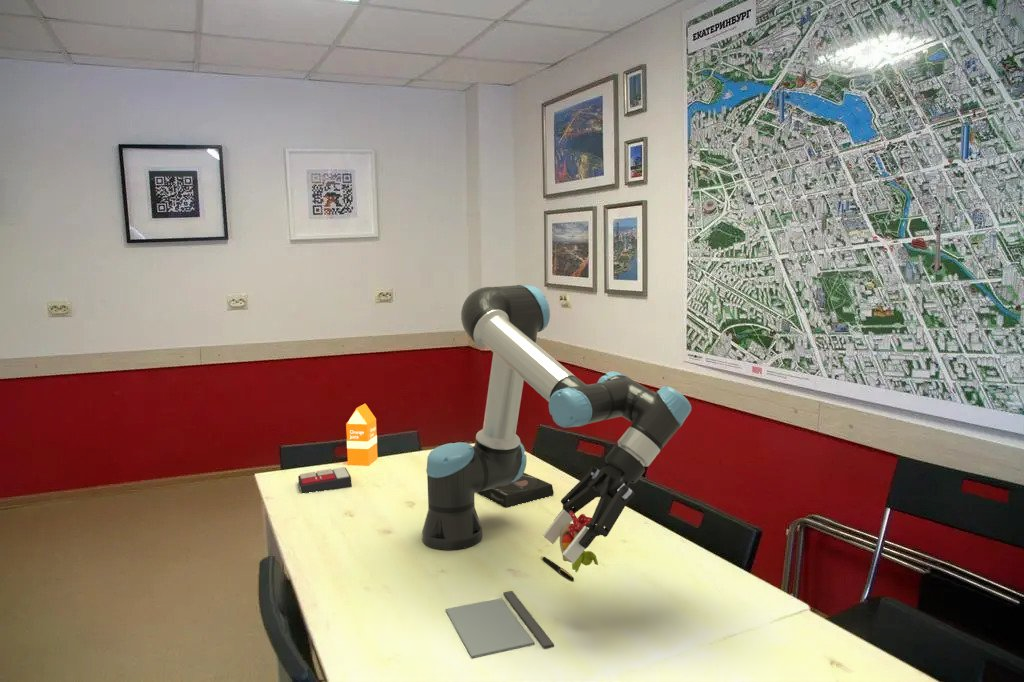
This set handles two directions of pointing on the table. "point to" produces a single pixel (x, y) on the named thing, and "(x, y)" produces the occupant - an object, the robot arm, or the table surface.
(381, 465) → the table surface
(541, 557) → the fountain pen
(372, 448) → the orange juice
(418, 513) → the table surface
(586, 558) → the bird rattle
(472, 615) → the mat
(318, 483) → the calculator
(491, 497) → the black flat box
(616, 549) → the table surface
